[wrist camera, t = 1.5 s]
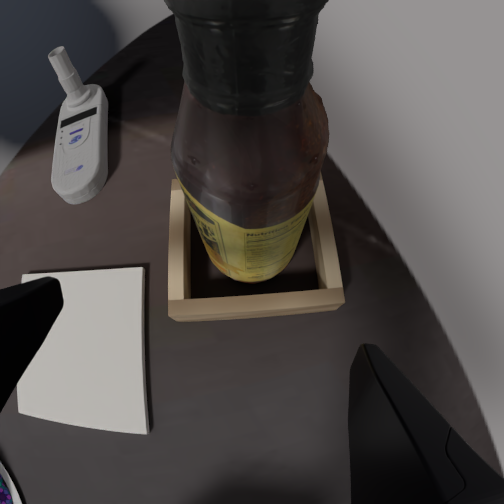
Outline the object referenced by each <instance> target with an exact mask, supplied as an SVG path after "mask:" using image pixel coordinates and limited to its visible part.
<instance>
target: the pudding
mask: <svg viewBox="0 0 504 504" xmlns="http://www.w3.org/2000/svg"><path fill="white" fill-rule="evenodd" d="M0 474H1V475H2V476H1V475H0V504H12V499H13V503H14V504H22V502H21V500H20V497H19V494H18V492H17V490H16V488H15V486H14V483H13V482H12V480H11V478H10V476H9V474H8V472H7V471H6V469H5V468H4V466H3V465H2V463H1V462H0ZM2 477H3V479H4V481H5V482H6V484H7V486H8V489H9V490H8V489H7V488H6V487H5V485H4V484H3V480H2ZM9 491H10V492H9ZM10 493H11V495H10ZM11 496H12V497H11Z"/></svg>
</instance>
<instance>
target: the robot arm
mask: <svg viewBox="0 0 504 504" xmlns="http://www.w3.org/2000/svg"><path fill="white" fill-rule="evenodd" d="M63 305H64V299H63V294H62V289H61V284H60V281H59V280H58V279H57V278H54V277H51V276H46V277H42V278H39V279H35V280H32V281H28V282H25V283H21V284H18V285H14V286H11V287H7V288H4V289H0V413H1V411H2V409H3V407H4V406H5V404H6V402H7V400H8V399H9V397H10V395H11V393H12V392H13V390H14V388H15V387H16V385H17V383H18V382H19V380H20V378H21V377H22V375H23V374H24V372H25V370H26V369H27V367H28V366H29V364H30V363H31V361H32V359H33V358H34V356H35V355H36V353H37V352H38V350H39V349H40V347H41V346H42V344H43V342H44V341H45V339H46V337H47V335H48V333H49V332H50V330H51V328H52V326H53V324H54V323H55V321H56V319H57V317H58V316H59V314H60V312H61V310H62V308H63ZM348 430H349V448H350V471H351V504H504V478H503V477H502V476H501V475H500V474H498V473H497V472H496V471H495V470H494V469H493V468H492V467H491V466H490V465H489V464H488V463H487V462H486V461H484V460H483V459H482V458H481V457H480V456H479V455H478V454H477V453H476V452H475V451H474V450H473V449H472V448H471V447H470V446H469V445H468V444H467V443H466V441H465V440H464V439H463V438H462V437H461V436H460V435H459V434H458V433H457V432H456V431H455V430H454V428H453V427H450V424H449V423H448V422H447V421H446V420H445V419H444V417H443V416H442V415H441V414H440V413H439V412H438V411H437V410H436V409H435V408H434V406H433V405H432V404H431V403H430V402H429V401H428V400H427V399H426V398H425V397H424V396H423V394H422V393H421V392H420V391H419V390H418V389H417V388H416V387H415V386H414V385H413V384H412V383H411V382H410V380H409V379H408V378H407V377H406V376H405V375H404V374H403V373H402V372H401V371H400V370H399V369H398V368H397V367H396V365H395V364H394V363H393V362H392V361H391V360H390V359H389V358H388V357H387V356H386V355H385V354H384V353H383V352H382V351H381V350H380V348H379V347H378V346H376V345H374V344H365V343H363V344H361V345H360V347H359V349H358V351H357V354H356V356H355V358H354V360H353V363H352V365H351V369H350V384H349V409H348Z"/></svg>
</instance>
